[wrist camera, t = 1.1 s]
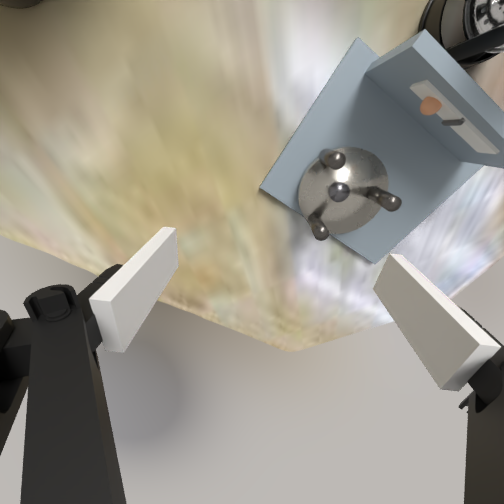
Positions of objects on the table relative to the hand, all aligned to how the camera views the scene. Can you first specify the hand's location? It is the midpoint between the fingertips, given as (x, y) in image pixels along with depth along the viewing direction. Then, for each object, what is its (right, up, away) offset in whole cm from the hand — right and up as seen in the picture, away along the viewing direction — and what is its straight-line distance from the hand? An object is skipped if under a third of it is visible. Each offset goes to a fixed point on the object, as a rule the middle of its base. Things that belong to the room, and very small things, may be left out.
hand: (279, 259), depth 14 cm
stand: (+15, +12, +19) cm, 27 cm away
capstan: (+11, +9, +19) cm, 24 cm away
